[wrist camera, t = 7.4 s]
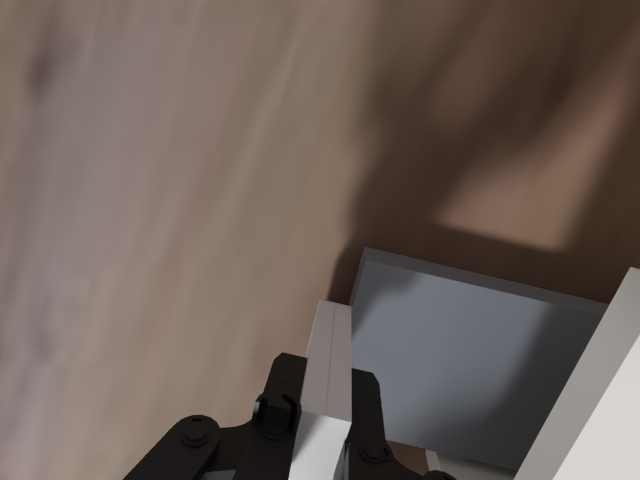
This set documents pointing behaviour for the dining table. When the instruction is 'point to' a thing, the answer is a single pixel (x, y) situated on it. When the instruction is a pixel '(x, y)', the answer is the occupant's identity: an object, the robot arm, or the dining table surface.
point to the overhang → (584, 410)
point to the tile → (464, 354)
